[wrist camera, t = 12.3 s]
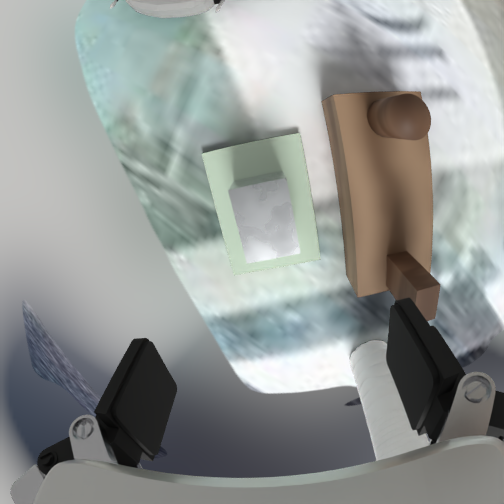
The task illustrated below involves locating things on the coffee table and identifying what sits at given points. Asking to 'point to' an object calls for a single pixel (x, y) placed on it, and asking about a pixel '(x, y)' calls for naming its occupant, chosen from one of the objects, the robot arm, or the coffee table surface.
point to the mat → (253, 164)
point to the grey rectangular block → (264, 217)
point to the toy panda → (172, 7)
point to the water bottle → (383, 403)
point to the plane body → (385, 193)
